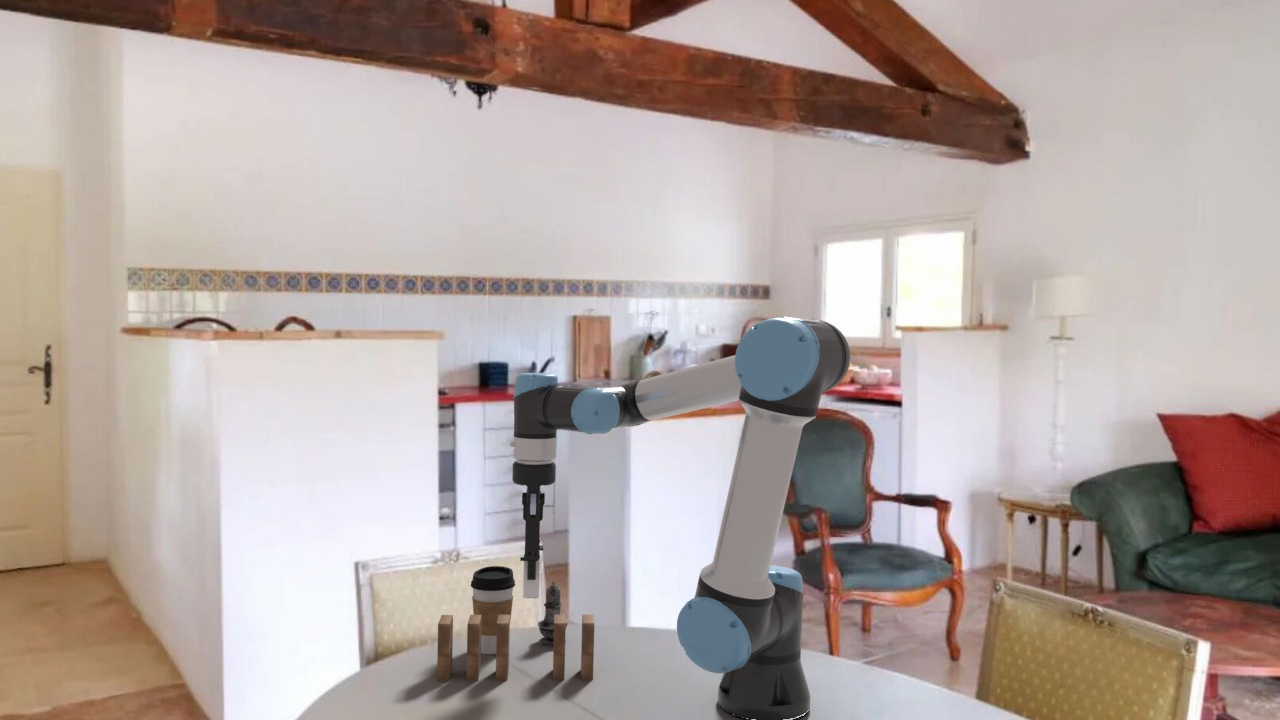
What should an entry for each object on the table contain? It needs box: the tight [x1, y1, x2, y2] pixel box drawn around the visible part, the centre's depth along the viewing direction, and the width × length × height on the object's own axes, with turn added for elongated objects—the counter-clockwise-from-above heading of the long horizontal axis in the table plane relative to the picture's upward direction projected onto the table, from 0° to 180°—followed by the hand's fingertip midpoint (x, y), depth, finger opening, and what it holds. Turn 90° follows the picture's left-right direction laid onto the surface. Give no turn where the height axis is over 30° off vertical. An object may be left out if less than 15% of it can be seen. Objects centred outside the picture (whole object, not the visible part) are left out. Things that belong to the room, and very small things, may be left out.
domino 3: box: [495, 615, 511, 681], centre depth 166 cm, size 2×5×10 cm, turn 5°
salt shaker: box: [537, 581, 569, 647], centre depth 184 cm, size 6×6×12 cm
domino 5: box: [580, 614, 595, 681], centre depth 167 cm, size 2×5×10 cm, turn 5°
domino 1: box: [436, 614, 454, 682], centre depth 165 cm, size 2×5×10 cm, turn 5°
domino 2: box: [466, 614, 482, 682], centre depth 165 cm, size 2×5×10 cm, turn 5°
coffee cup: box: [470, 565, 516, 655], centre depth 179 cm, size 8×8×15 cm
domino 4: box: [552, 614, 567, 681], centre depth 167 cm, size 2×5×10 cm, turn 5°
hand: (531, 592), depth 166 cm, fingers closed on oak domino, 5 cm apart
